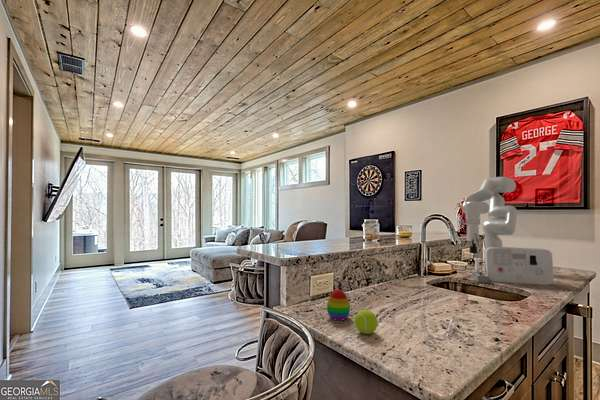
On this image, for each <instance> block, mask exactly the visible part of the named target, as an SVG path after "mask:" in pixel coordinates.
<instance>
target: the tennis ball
mask: <svg viewBox="0 0 600 400" xmlns="http://www.w3.org/2000/svg"><path fill="white" fill-rule="evenodd" d="M354 326H355V328H356V329H357V330H358V331H359V332H360V333H362V334H365V335H370V334H373V333H374V332H375V331H376V330H377V327H378V319H377V316H376V315H375V313H374V312H373V311H371V310H368V309H362V310H359V311H358V312H357V313H356V315H355V316H354Z"/></svg>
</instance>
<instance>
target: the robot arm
mask: <svg viewBox="0 0 600 400" xmlns="http://www.w3.org/2000/svg"><path fill="white" fill-rule="evenodd" d="M516 188H517V185H516V181H515V180H513V178H510V177H507V176H494V177H493V176H492V177H487V178H485V179H483V181H482V183H481V185H480V186H479V188H478V190H477V191H475V192H473V193H471V194H469V195H468V196H467V197H466V198H465V199H464V200H463V201H464V202H463V203H462V206H461V211H462V212H463V213H464V214H465V225H466V241H468V242H469V253H470V254H477V253H478V247H477V246H478V242H479V241H480V230H479V229H480V228H479V226H481V215H485V214H487V217H488V218H489V219H488V220H486V221H484V222H483V223H482V230H483V234H484V235H483V236H484V250H485V249H486V248H487V247H503V240H502V238H500V237H499V236H513V235H514V234H515V232H516V228H517V227H516V226H517V219H518V218H517V217H518V211H517V208H516V207H515V206H513V205H505V202H506V201H505V198H504V197H503V196H502V195H500V194H499V193H512V192H515V190H516ZM488 200H489V203H487V202H485V201H488ZM482 267H483V268H484V269H485V264H484V265H482Z"/></svg>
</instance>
